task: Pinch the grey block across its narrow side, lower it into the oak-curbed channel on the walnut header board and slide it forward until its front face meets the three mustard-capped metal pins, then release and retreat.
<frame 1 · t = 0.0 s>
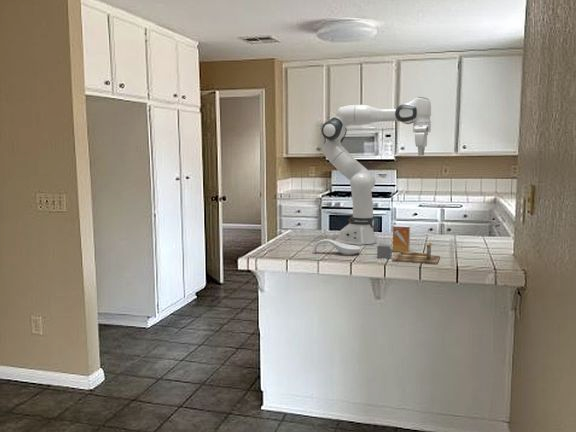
hand: (421, 155, 273), 48 cm above the worktop, fingers open, 8 cm apart
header: (416, 259, 244), on the worktop
small box: (401, 251, 265), on the worktop
spoon rest: (336, 254, 259), on the worktop
grey block: (384, 257, 249), on the worktop
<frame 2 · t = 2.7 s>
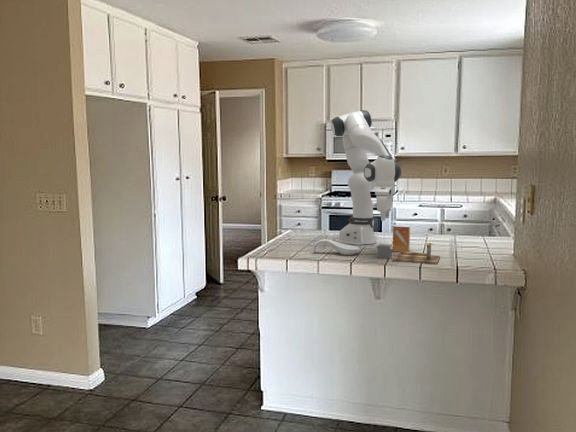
hand: (385, 219, 246), 18 cm above the worktop, fingers open, 8 cm apart
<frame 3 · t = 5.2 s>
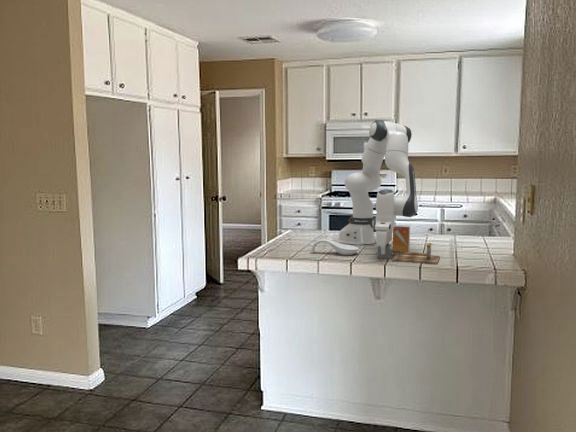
hand: (384, 252, 249), 2 cm above the worktop, fingers closed on grey block, 5 cm apart
grey block: (384, 257, 249), on the worktop, touching gripper
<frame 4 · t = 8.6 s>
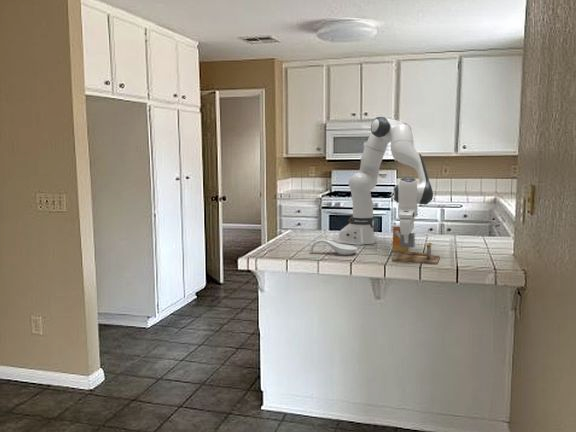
hand: (407, 241, 244), 8 cm above the worktop, fingers closed on grey block, 5 cm apart
grey block: (407, 246, 245), point 6 cm above the worktop, touching gripper
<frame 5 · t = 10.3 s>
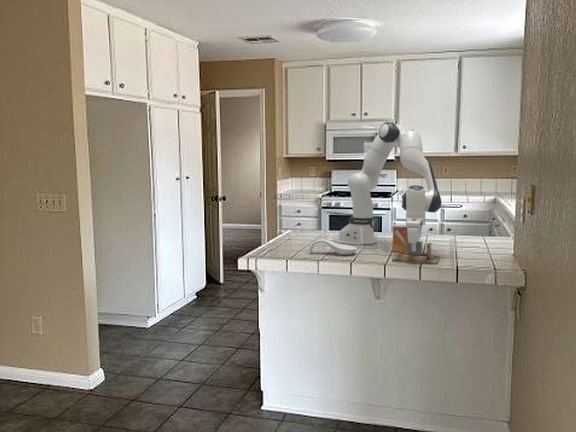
hand: (414, 250, 243), 5 cm above the worktop, fingers closed on grey block, 5 cm apart
grey block: (415, 254, 243), point 2 cm above the worktop, touching gripper
when the fingers open (4 cm above the worktop, at t = 12.1 s): grey block stays where it is, resting on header.
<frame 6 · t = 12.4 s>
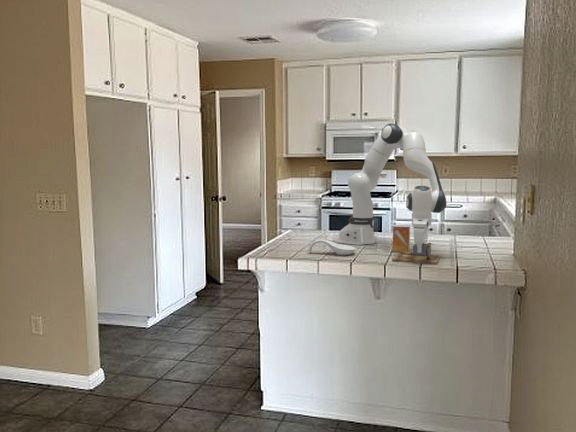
hand: (420, 250, 242), 4 cm above the worktop, fingers open, 8 cm apart
grey block: (420, 257, 243), point 1 cm above the worktop, touching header
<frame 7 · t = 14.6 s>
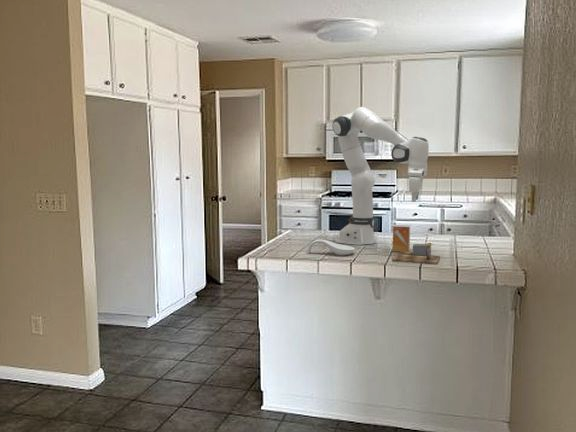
hand: (414, 200, 248), 27 cm above the worktop, fingers open, 8 cm apart
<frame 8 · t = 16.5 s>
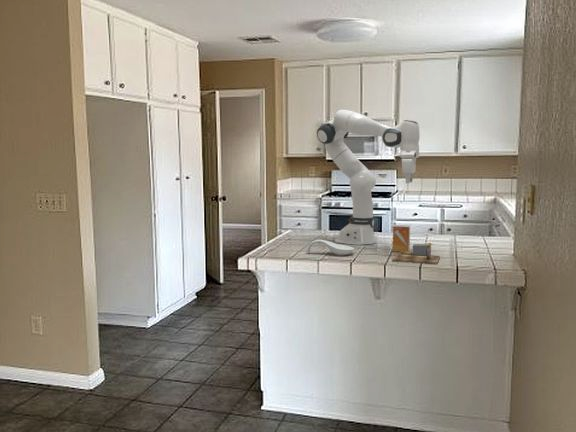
hand: (409, 182, 253), 35 cm above the worktop, fingers open, 8 cm apart
at the end: grey block 0.3 cm from the target spot on the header, point 1.2 cm above the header's base; grey block tilted 3°; the gripper is holding nothing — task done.
